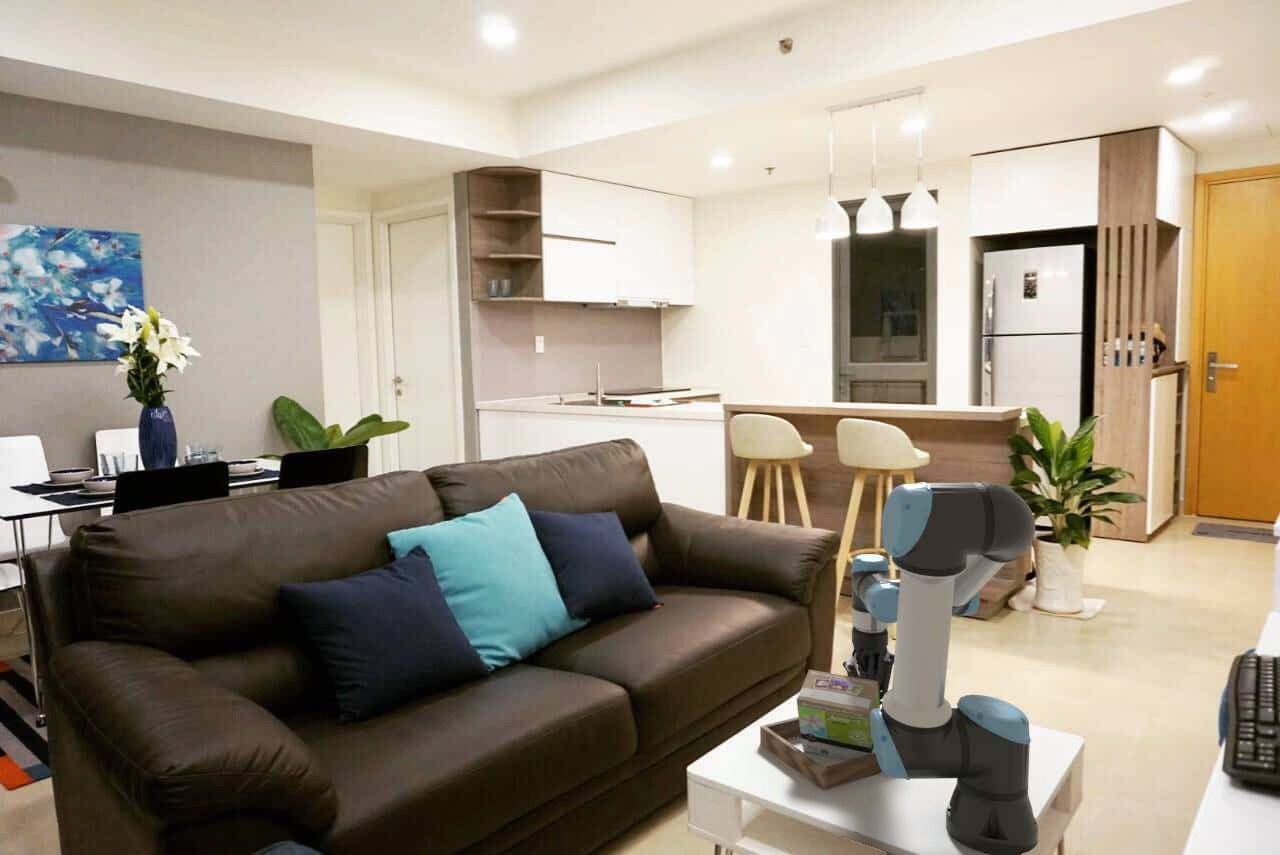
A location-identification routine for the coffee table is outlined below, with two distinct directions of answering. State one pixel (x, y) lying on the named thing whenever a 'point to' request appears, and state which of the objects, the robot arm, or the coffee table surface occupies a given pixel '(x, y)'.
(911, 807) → the coffee table surface
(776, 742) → the frame
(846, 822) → the coffee table surface
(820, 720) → the tea box
